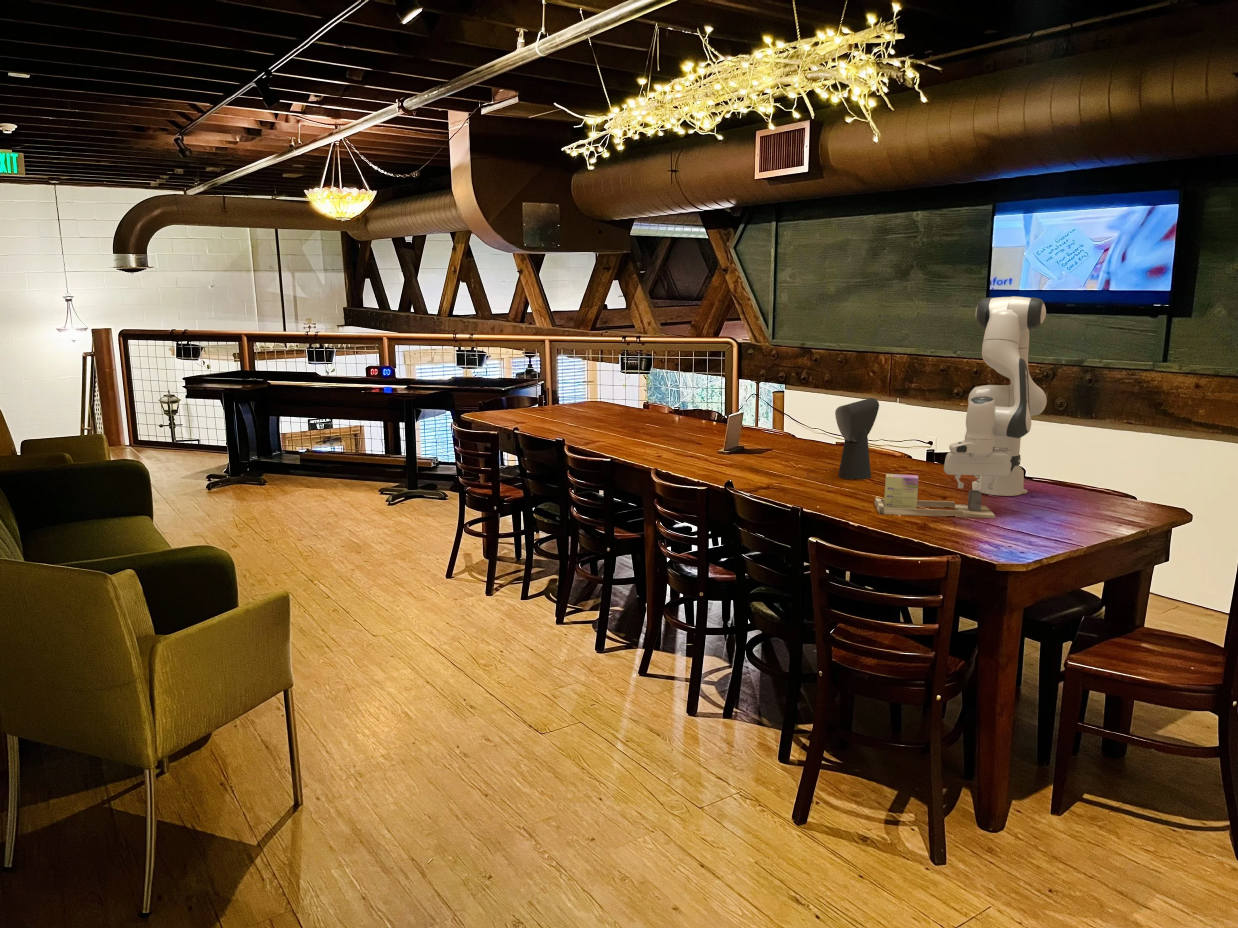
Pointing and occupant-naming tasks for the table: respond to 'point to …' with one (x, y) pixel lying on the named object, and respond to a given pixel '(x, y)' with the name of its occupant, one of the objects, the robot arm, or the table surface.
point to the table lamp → (856, 437)
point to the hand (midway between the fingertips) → (975, 488)
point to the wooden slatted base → (969, 510)
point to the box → (901, 491)
